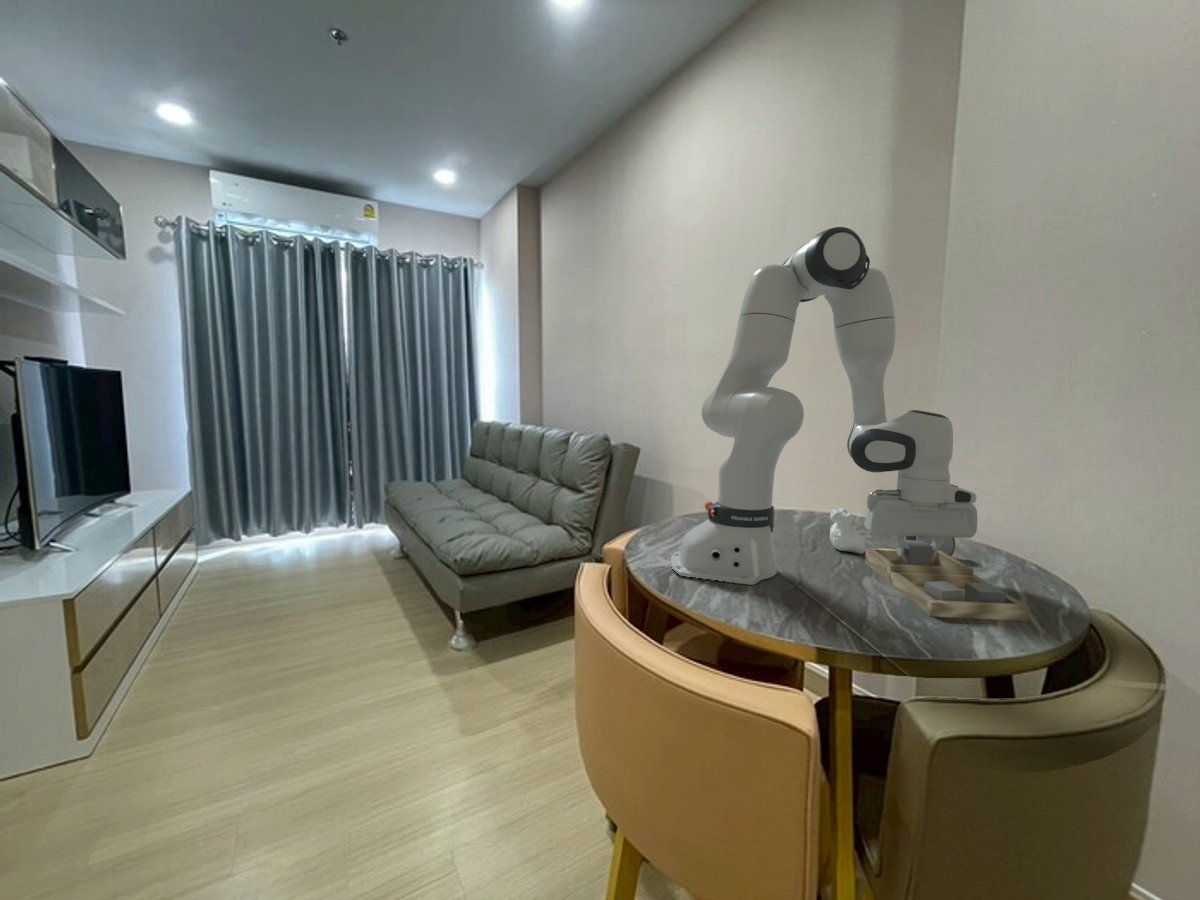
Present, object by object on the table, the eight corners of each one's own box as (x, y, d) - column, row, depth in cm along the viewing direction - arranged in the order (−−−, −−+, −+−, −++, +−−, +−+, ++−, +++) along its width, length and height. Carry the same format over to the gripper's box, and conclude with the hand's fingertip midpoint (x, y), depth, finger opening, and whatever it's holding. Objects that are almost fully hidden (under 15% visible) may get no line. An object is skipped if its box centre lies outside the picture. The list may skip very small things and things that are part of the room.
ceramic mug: (956, 564, 109) (959, 530, 108) (914, 560, 110) (917, 527, 110) (935, 549, 119) (938, 519, 118) (898, 547, 121) (900, 516, 120)
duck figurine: (831, 550, 124) (806, 516, 123) (855, 532, 124) (830, 498, 123) (856, 567, 113) (829, 529, 111) (883, 547, 112) (856, 510, 111)
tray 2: (929, 619, 82) (931, 602, 82) (889, 586, 96) (890, 571, 96) (1028, 624, 80) (1030, 607, 80) (972, 589, 94) (974, 575, 94)
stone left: (939, 613, 83) (941, 591, 83) (922, 603, 87) (924, 581, 86) (961, 612, 83) (963, 590, 83) (943, 602, 87) (945, 581, 87)
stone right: (977, 614, 83) (979, 591, 82) (963, 603, 87) (965, 582, 86) (1003, 615, 82) (1006, 593, 82) (988, 605, 86) (990, 583, 86)
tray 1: (889, 585, 96) (890, 566, 96) (864, 565, 107) (866, 547, 107) (971, 589, 95) (973, 569, 94) (938, 568, 106) (940, 550, 105)
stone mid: (910, 564, 99) (912, 545, 99) (900, 558, 103) (902, 539, 103) (931, 565, 99) (933, 546, 98) (920, 558, 103) (922, 540, 102)
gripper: (875, 492, 97) (870, 559, 99) (985, 495, 95) (978, 563, 96) (861, 486, 103) (857, 549, 105) (965, 488, 101) (958, 552, 103)
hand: (916, 556), depth 101 cm, fingers closed on stone mid, 4 cm apart
